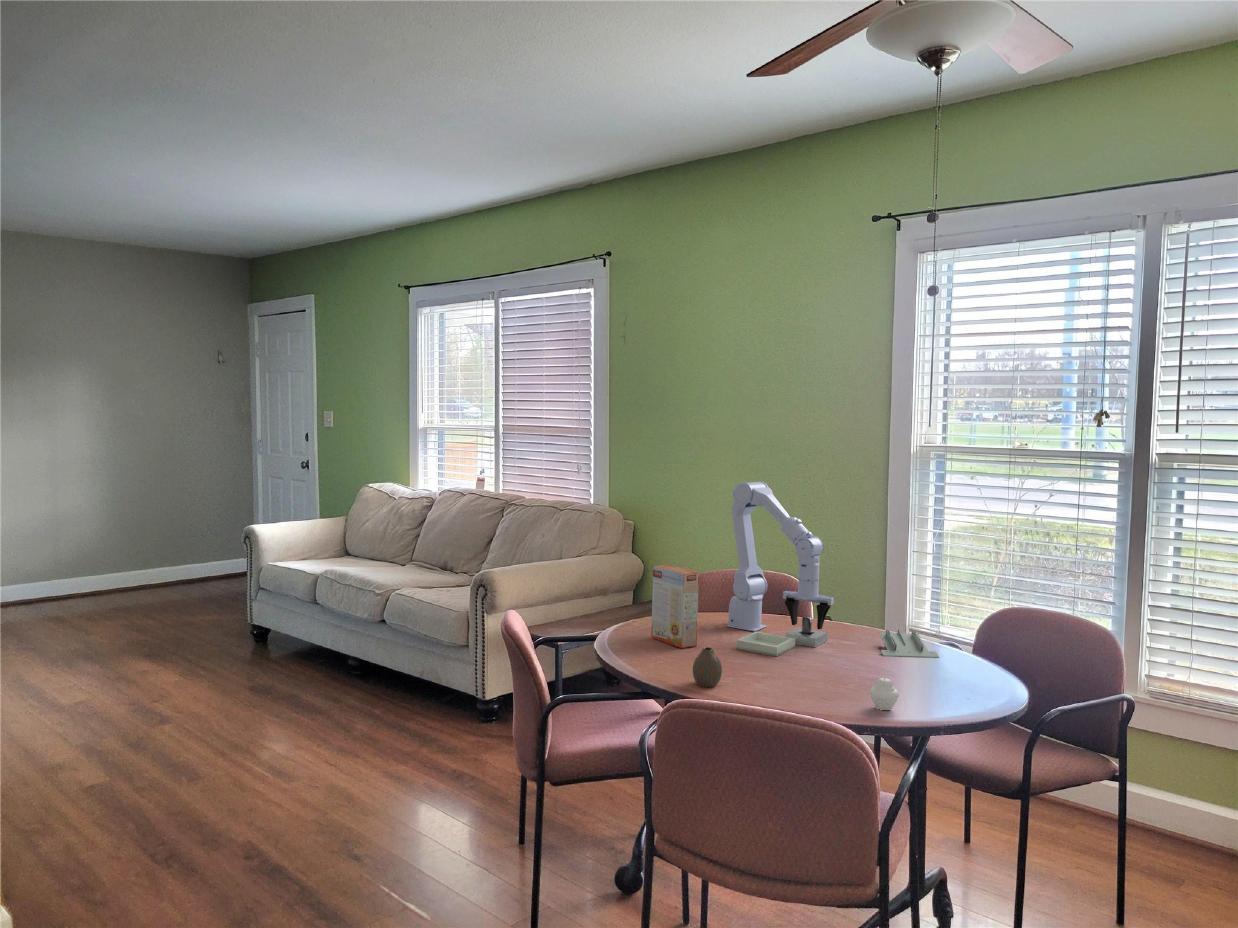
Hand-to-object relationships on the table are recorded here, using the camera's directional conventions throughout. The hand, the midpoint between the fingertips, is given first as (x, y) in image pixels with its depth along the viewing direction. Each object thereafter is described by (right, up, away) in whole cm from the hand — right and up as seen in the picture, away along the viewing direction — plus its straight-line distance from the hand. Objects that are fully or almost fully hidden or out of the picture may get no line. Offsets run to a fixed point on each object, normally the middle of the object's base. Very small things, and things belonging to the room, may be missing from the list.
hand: (806, 626), depth 248 cm
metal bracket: (+25, -6, -7) cm, 27 cm away
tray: (-13, -5, -8) cm, 16 cm away
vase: (-33, -6, -41) cm, 53 cm away
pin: (0, -4, 0) cm, 4 cm away
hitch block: (0, -4, 0) cm, 4 cm away
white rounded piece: (+5, -8, -55) cm, 56 cm away
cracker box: (-38, -4, -4) cm, 39 cm away
